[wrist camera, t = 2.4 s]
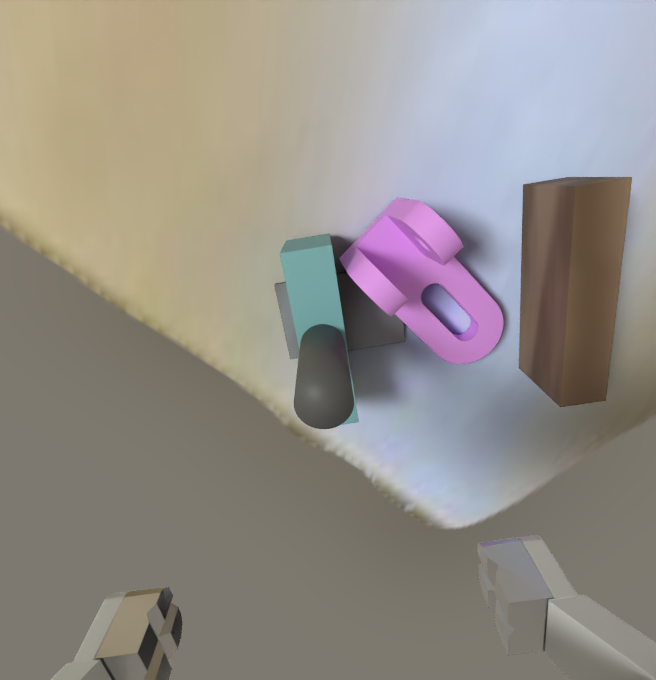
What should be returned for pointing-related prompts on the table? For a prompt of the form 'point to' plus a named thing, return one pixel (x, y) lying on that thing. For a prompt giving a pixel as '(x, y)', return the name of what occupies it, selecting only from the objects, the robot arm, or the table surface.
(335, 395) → the clamp jaw
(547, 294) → the base
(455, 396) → the table surface
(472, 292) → the bracket
